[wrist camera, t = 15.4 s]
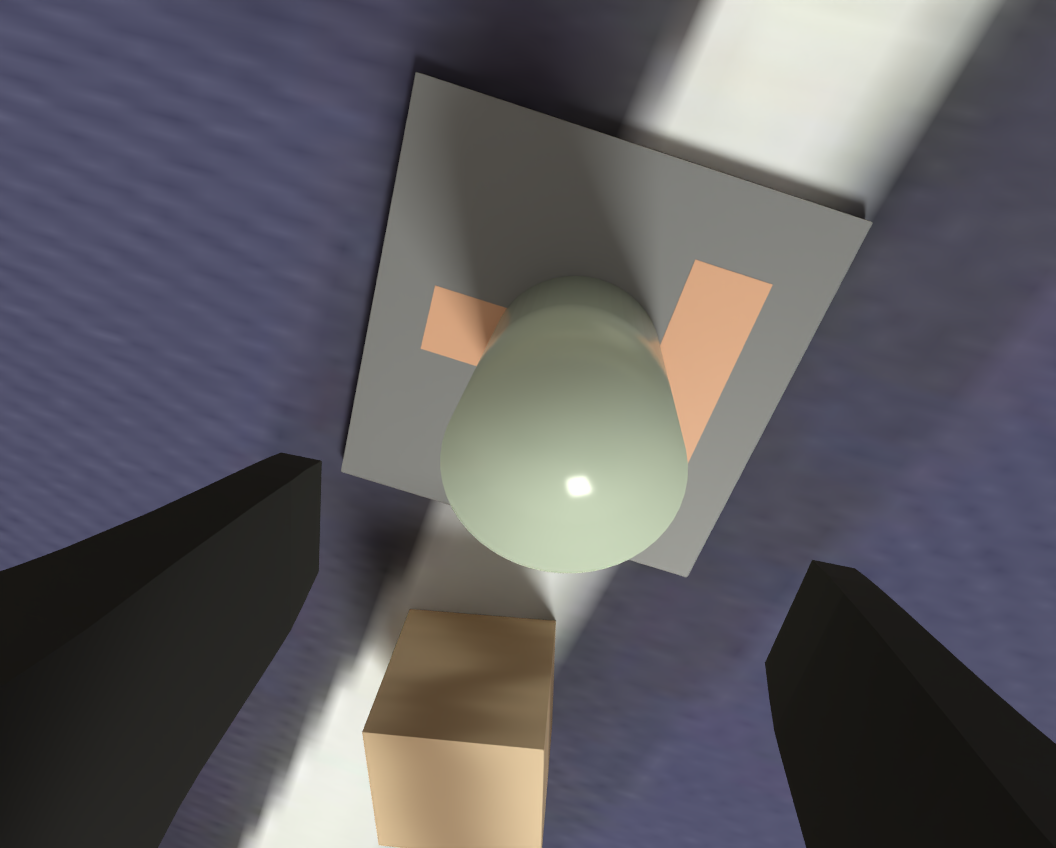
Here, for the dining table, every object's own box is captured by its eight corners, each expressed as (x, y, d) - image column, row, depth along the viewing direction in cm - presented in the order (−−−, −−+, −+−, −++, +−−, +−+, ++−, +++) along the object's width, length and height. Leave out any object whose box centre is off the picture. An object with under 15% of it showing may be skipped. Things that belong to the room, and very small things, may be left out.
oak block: (555, 618, 22) (544, 750, 17) (552, 723, 24) (540, 863, 19) (410, 607, 22) (362, 732, 18) (419, 710, 24) (378, 845, 20)
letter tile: (865, 219, 15) (873, 222, 15) (685, 569, 20) (686, 577, 20) (420, 72, 15) (415, 72, 15) (345, 464, 20) (341, 471, 19)
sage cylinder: (677, 289, 16) (715, 378, 11) (641, 447, 18) (659, 590, 13) (498, 263, 16) (447, 339, 11) (483, 423, 18) (433, 553, 13)
